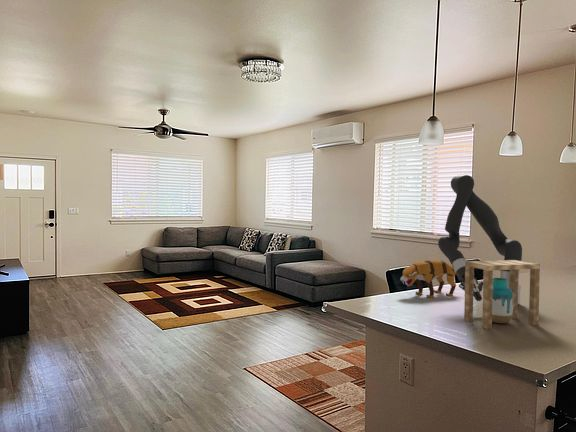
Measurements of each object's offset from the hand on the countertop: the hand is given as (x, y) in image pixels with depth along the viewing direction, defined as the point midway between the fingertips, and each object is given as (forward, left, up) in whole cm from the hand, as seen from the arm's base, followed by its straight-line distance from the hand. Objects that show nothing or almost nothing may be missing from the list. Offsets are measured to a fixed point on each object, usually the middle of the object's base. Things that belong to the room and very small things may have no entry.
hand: (479, 300), depth 201 cm
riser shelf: (0, +13, -7) cm, 15 cm away
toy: (-4, -45, -7) cm, 45 cm away
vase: (+1, +13, -7) cm, 15 cm away
